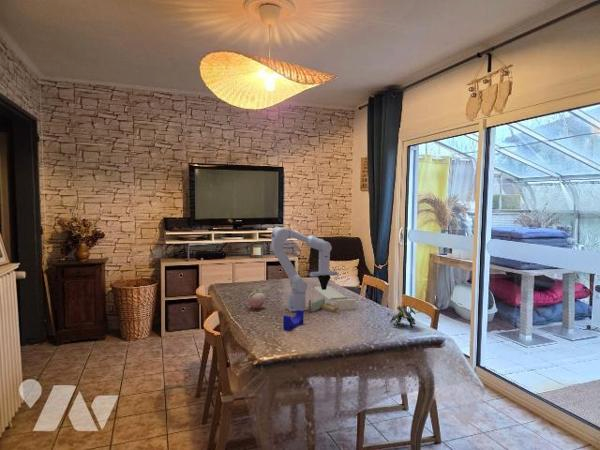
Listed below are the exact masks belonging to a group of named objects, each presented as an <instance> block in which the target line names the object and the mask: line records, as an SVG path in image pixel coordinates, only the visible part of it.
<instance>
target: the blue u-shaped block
mask: <svg viewBox="0 0 600 450" xmlns="http://www.w3.org/2000/svg"><path fill="white" fill-rule="evenodd" d="M304 312H305V310H304V311H302V310H296V311H295V315H293V316H291V315H287V314H286V315H283V317H282V318H283V321H282V325H283V327H282V328H283V329H282V330H283V331H291V330H294V329H295V328H297V327H299V326H301V325H303V324H304V320H305V319H304V316H305V314H304Z"/></svg>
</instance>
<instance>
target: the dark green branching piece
mask: <svg viewBox="0 0 600 450" xmlns="http://www.w3.org/2000/svg"><path fill="white" fill-rule="evenodd" d="M396 308H397V310H398V311H399V312H398V313H397V314H396V315H393V316H392V315H391V313H390V312H387V315H386V316H387V317H389V316H390V317H391V320H390V321H389V324H391V323H392V322H394V323H395V324H394V326H393V328H396V326H397V325H398V324H400V323H401V321H402V319H405V320H406V321H408V323H409V326H410V328H414V325H416V319H415V318H414V317H413V316H412V313H413V314H414V315H416V311H415V310H414V309H413V308H412V307H409V310H410V311H407V309H405V307H403V306H401V305H398V306H396Z"/></svg>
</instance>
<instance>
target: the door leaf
mask: <svg viewBox="0 0 600 450" xmlns="http://www.w3.org/2000/svg"><path fill="white" fill-rule="evenodd" d="M322 304H326V297H322V298H319V299H317V300H314V301H311V312H316V311H318V310H320V309H322Z"/></svg>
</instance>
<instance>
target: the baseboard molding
mask: <svg viewBox="0 0 600 450" xmlns="http://www.w3.org/2000/svg"><path fill="white" fill-rule="evenodd" d="M312 288H313V289H315V290H316V291H318V292H319V294H321V295H322V296H323V297H324V298H325V299H327V300H346V299H347V296H346V295H344V294H342V293H341V292H339V291H338V290H336V289H335V288H333V287H332V286H331V285H327V288H326V290H322V289H321V284H319V285H316V284H314V285H313V286H312Z"/></svg>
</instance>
